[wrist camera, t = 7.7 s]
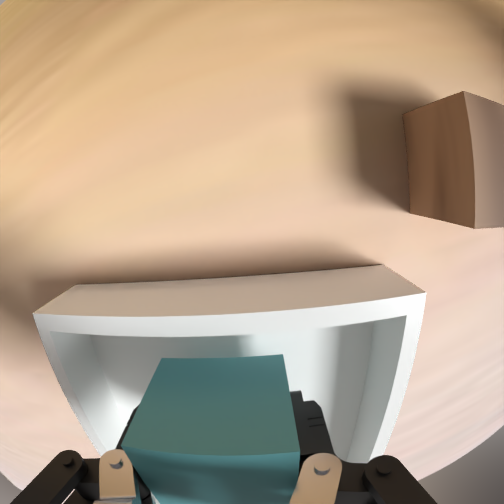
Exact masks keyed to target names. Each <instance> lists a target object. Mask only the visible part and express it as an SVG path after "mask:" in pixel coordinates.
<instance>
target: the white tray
mask: <svg viewBox="0 0 504 504" xmlns="http://www.w3.org/2000/svg"><path fill="white" fill-rule="evenodd" d="M425 299H426V292H425V291H423V290H422V289H420V288H419V287H417V286H416V285H414V284H413V283H411V282H410V281H408V280H407V279H405V278H404V277H402V276H401V275H399V274H397V273H396V272H394V271H393V270H391V269H390V268H388V267H386V266H385V265H376V266H365V267H355V268H344V269H333V270H321V271H309V272H296V273H284V274H270V275H256V276H242V277H227V278H211V279H194V280H175V281H156V282H134V283H109V284H78V285H75V286H73V287H71V288H70V289H68V290H67V291H65V292H64V293H62V294H61V295H59V296H57V297H56V298H54V299H53V300H51V301H50V302H48V303H47V304H45V305H44V306H42V307H41V308H39V309H38V310H36V311H35V312H33V313H32V314H33V317H34V320H35V323H36V326H37V329H38V332H39V335H40V338H41V340H42V343H43V346H44V348H45V351H46V354H47V356H48V359H49V361H50V363H51V366H52V368H53V370H54V373H55V375H56V377H57V379H58V382H59V384H60V386H61V388H62V390H63V392H64V394H65V396H66V398H67V400H68V402H69V404H70V406H71V408H72V410H73V411H74V413H75V415H76V417H77V419H78V420H79V422H80V424H81V426H82V427H83V429H84V431H85V432H86V434H87V436H88V437H89V439H90V441H91V442H92V444H93V445H94V447H95V448H96V450H97V451H98V453H99V454H100V456H102V455H103V454H104V453H105V452H107V451H109V450H113V449H115V448H116V446H117V444H118V442H119V440H120V437H121V435H122V433H123V431H124V429H125V427H126V426H127V422H128V420H129V419H130V416H131V414H132V412H133V410H134V409H135V408H136V407H137V406H138V405H139V404H140V402H141V400H142V398H143V396H144V394H145V392H146V389H147V387H148V385H149V383H150V381H151V379H152V377H153V375H154V373H155V371H156V369H157V366H158V364H159V362H160V360H161V358H229V357H250V356H266V355H279V354H283V357H284V362H285V368H286V373H287V379H288V384H289V390H290V391H299V390H301V392H302V397H303V401H311V400H314V401H315V402H316V403H317V404H318V405H319V406H320V407H321V409H322V412H323V415H324V419H325V422H326V426H327V429H328V433H329V436H330V439H331V443H332V446H333V450H334V453H335V454H336V455H337V456H338V457H339V458H340V459H341V460H343V461H346V462H350V463H368V462H369V461H370V460H371V459H373V458H375V457H377V456H381V455H383V454H384V451H385V449H386V446H387V444H388V441H389V439H390V436H391V434H392V431H393V428H394V425H395V423H396V420H397V417H398V414H399V411H400V408H401V405H402V402H403V398H404V395H405V392H406V388H407V385H408V381H409V378H410V374H411V370H412V366H413V362H414V358H415V353H416V349H417V344H418V339H419V335H420V329H421V324H422V318H423V312H424V306H425ZM154 498H155V496H154ZM155 503H156V504H160V503H159V502H158V500H157V499H156V498H155Z"/></svg>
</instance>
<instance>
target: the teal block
mask: <svg viewBox="0 0 504 504" xmlns="http://www.w3.org/2000/svg"><path fill="white" fill-rule="evenodd" d="M121 447H122V448H123V450H124V452H125V453H126V455H127V457H128V458H129V460H130V461H131V463H132V465H133V466H134V468H135V469H136V471H137V472H138V474H139V475H140V477H141V478H142V480H143V481H144V483H145V484H146V485H147V487H148V488H149V490H150V491H151V492H152V494H153V495H154V496H155V498H156V499H157V500H158V502H159V503H160V504H289V503H290V500H291V497H292V495H293V492H294V489H295V486H296V484H297V481H298V473H299V461H300V447H299V441H298V435H297V430H296V424H295V418H294V413H293V407H292V401H291V396H290V390H289V384H288V379H287V373H286V368H285V362H284V357H283V354H279V355H266V356H250V357H229V358H161V360H160V362H159V364H158V366H157V369H156V371H155V373H154V375H153V377H152V379H151V381H150V383H149V385H148V387H147V389H146V392H145V394H144V396H143V398H142V400H141V402H140V404H139V406H138V409H137V411H136V413H135V415H134V417H133V420H132V422H131V424H130V426H129V428H128V431H127V433H126V435H125V437H124V439H123V442H122V444H121Z"/></svg>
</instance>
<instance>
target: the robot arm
mask: <svg viewBox="0 0 504 504" xmlns="http://www.w3.org/2000/svg"><path fill="white" fill-rule="evenodd" d="M290 396H291V401H292V407H293V413H294V418H295V424H296V430H297V435H298V441H299V447H300V461H299V473H298V481H297V484H296V486H295V489H294V492H293V495H292V497H291V500H290V503H289V504H437V503H436V502H435V501H434V499H433V498H432V497H431V496H430V495H429V494H428V493H427V492H426V491H425V489H424V488H423V487H422V486H421V485H420V484H419V483H418V481H417V480H416V479H415V478H414V477H413V476H412V475H411V474H410V472H409V471H408V470H407V469H406V468H405V467H404V465H403V464H402V463H401V462H400V461H399V460H398V459H397V458H395V457H393V456H389V455H381V456H377V457H375V458H373V459H371V460H370V461H369V462H368V463H350V462H346V461H343V460H341V459H340V458H339V457H338V456H337V455H336V454H335V453H334V450H333V446H332V443H331V439H330V436H329V433H328V429H327V426H326V422H325V419H324V415H323V412H322V409H321V407H320V406H319V405H318V404H317V403H316V402H315V401H314V400H311V401H303V397H302V392H301V390H299V391H290ZM138 406H139V405H138ZM138 406H137V407H136V408H135V409H134V410H133V412H132V414H131V416H130V419H129V420H128V422H127V426H126V427H125V429H124V431H123V433H122V435H121V437H120V440H119V442H118V444H117V446H116V448H115V449H113V450H109V451H107V452H105V453H104V454H103V455H102V456H101V458H97V459H83V458H82V457H81V456H80V454H79V453H77V452H76V451H73V450H65V451H62V452H60V453H59V454H58V455H57V456H56V457H55V458H54V459H53V460H52V461H51V462H50V463H49V464H48V465H47V466H46V467H45V468H44V469H43V470H42V471H41V472H40V473H39V474H38V475H37V476H36V477H35V478H34V479H33V480H32V482H31V483H30V484H29V485H28V486H27V487H26V488H25V489H24V490H23V491H22V492H21V493H20V494H19V495H18V496H17V497H16V498H15V499H14V500H13V501H12V502H11V503H10V504H62V502H63V501H64V500H65V499H66V498H67V496H68V495H69V494H70V493H71V492H72V490H73V489H75V490H74V492H73V493H72V494H71V495H70V496H69V498H68V499H67V500H66V501H65V502H64V503H63V504H156V503H155V498H154V495H153V494H152V492H151V491H150V490H149V488H148V487H147V485H146V484H145V483H144V481H143V480H142V478H141V477H140V475H139V474H138V472H137V471H136V469H135V468H134V466H133V465H132V463H131V461H130V460H129V458H128V457H127V455H126V453H125V452H124V450H123V448H122V447H121V444H122V442H123V439H124V437H125V435H126V433H127V431H128V428H129V426H130V424H131V422H132V420H133V417H134V415H135V413H136V411H137V409H138Z"/></svg>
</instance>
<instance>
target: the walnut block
mask: <svg viewBox="0 0 504 504" xmlns="http://www.w3.org/2000/svg"><path fill="white" fill-rule="evenodd" d="M403 123H404V130H405V139H406V149H407V160H408V174H409V198H410V214H415V215H419V216H424V217H428V218H433V219H437V220H441V221H446V222H450V223H454V224H458V225H462V226H466V227H470V228H473V229H480V228H497V227H504V105H501V104H499V103H496V102H494V101H491V100H488V99H486V98H483V97H480V96H477V95H474V94H471V93H468V92H465V91H462V92H459V93H456V94H454V95H451V96H448V97H446V98H443V99H440V100H438V101H435V102H433V103H430V104H427V105H425V106H422V107H420V108H417V109H415V110H412V111H410V112H408V113H405V114H403Z"/></svg>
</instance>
